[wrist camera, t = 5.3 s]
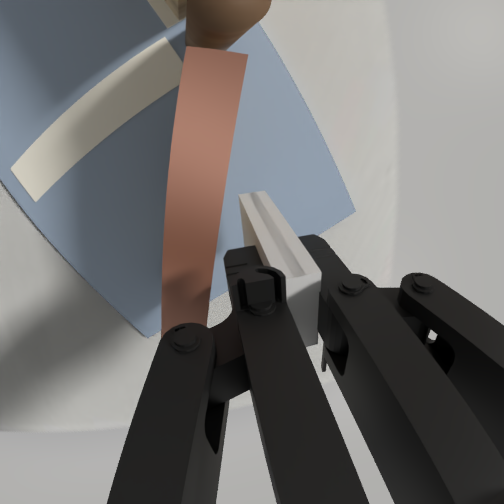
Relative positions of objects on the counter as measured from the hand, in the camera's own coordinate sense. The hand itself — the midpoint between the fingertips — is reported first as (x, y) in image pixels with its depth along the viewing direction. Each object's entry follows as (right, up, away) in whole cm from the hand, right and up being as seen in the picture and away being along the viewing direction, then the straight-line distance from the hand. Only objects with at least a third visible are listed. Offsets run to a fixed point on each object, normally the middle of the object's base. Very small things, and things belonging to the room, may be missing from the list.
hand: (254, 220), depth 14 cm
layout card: (-6, +5, -2) cm, 8 cm away
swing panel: (-3, +1, +1) cm, 4 cm away
